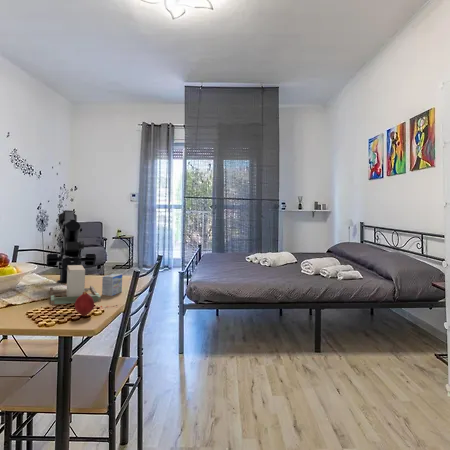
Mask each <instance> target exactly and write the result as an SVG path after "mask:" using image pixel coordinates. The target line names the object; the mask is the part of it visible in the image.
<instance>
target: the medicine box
mask: <svg viewBox="0 0 450 450" xmlns="http://www.w3.org/2000/svg"><path fill="white" fill-rule="evenodd" d="M101 285H102V286H101V294H102V296H109V297H110V296H111V297H112V296H115V295H117V294H120V293H122V292H123V274H120V273H112V274H107V275H105V276H102V284H101Z"/></svg>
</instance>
